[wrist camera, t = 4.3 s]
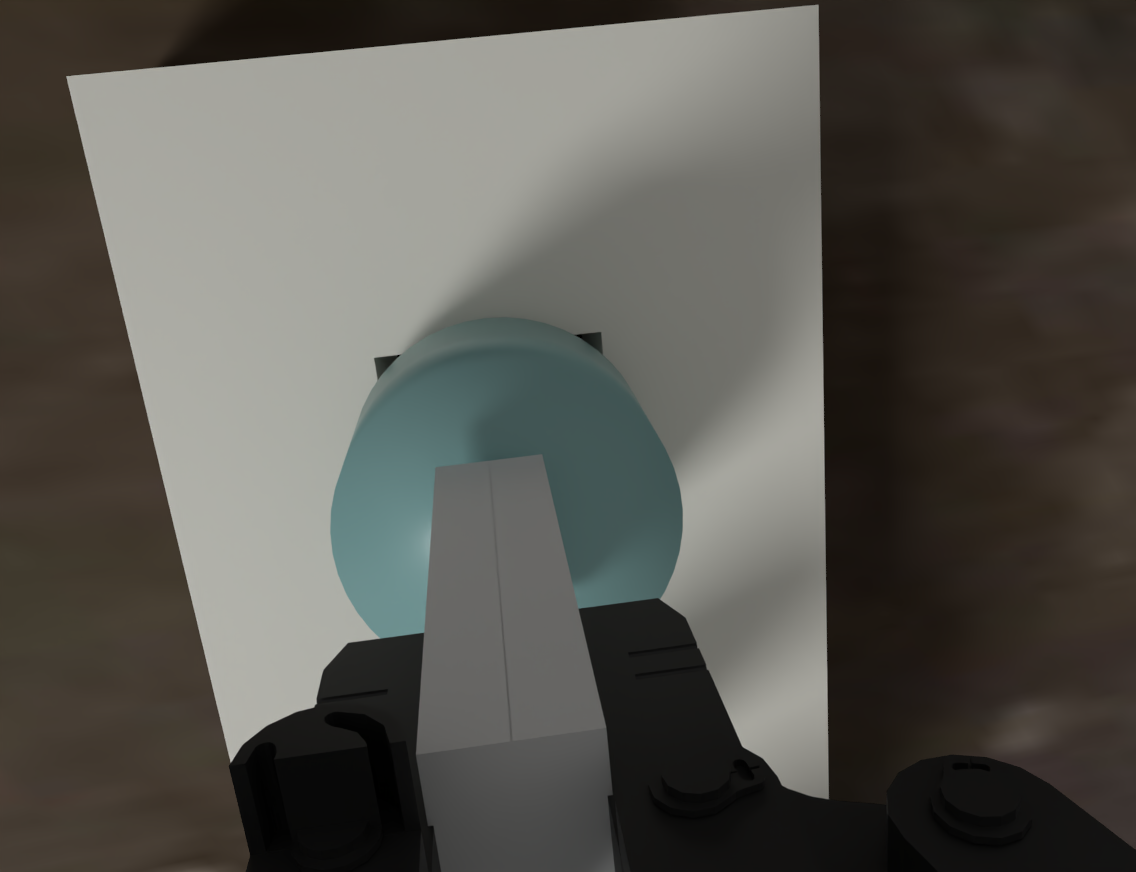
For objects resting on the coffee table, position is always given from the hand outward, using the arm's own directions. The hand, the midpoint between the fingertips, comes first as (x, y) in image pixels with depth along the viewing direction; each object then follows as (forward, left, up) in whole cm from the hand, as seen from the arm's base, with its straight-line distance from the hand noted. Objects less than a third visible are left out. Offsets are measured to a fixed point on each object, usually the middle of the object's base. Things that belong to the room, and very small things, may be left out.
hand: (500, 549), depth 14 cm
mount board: (0, -7, -8) cm, 11 cm away
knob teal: (0, 0, -8) cm, 8 cm away
